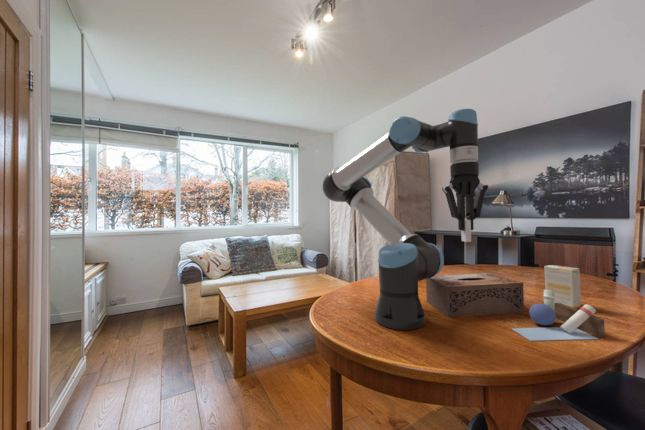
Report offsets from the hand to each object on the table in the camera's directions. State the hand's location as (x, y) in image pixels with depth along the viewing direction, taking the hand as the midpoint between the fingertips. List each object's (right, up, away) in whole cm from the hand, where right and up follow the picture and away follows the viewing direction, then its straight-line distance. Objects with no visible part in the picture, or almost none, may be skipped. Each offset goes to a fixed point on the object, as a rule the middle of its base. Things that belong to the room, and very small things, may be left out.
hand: (466, 241), depth 80 cm
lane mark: (+18, -24, -9) cm, 31 cm away
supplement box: (+40, -23, +12) cm, 48 cm away
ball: (+20, -21, -3) cm, 29 cm away
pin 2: (+22, -23, -9) cm, 33 cm away
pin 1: (+24, -24, -2) cm, 33 cm away
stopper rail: (+29, -24, -5) cm, 37 cm away
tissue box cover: (+9, -25, +13) cm, 29 cm away
